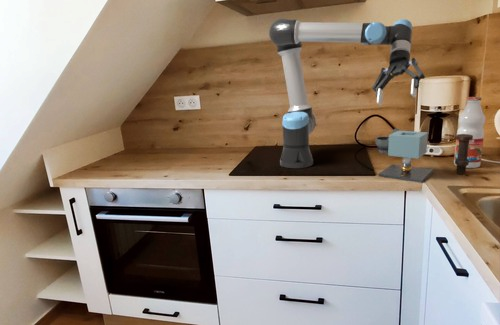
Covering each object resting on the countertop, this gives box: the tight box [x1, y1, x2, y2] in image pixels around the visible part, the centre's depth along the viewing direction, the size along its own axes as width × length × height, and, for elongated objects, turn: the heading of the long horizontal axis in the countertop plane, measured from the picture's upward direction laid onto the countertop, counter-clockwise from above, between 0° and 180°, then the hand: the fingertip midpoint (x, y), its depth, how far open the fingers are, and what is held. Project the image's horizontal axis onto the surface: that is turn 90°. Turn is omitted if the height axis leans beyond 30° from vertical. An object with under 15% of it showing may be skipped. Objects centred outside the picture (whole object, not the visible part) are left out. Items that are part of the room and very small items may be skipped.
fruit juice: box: [453, 96, 486, 169], centre depth 140 cm, size 9×9×28 cm
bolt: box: [454, 134, 473, 175], centre depth 133 cm, size 6×5×15 cm
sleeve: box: [387, 130, 429, 159], centre depth 134 cm, size 11×11×8 cm
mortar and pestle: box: [374, 127, 401, 154], centre depth 172 cm, size 11×9×12 cm
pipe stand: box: [377, 157, 434, 184], centre depth 136 cm, size 16×16×10 cm
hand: (395, 100), depth 134 cm, fingers open, 13 cm apart
